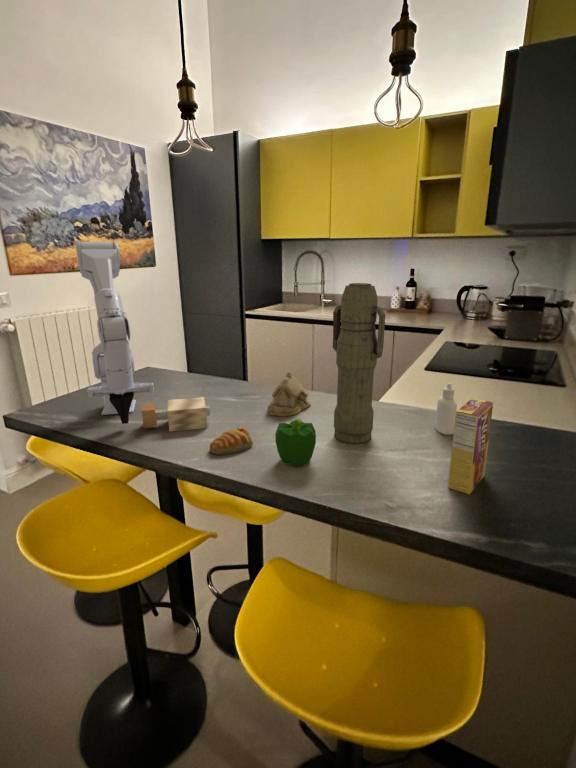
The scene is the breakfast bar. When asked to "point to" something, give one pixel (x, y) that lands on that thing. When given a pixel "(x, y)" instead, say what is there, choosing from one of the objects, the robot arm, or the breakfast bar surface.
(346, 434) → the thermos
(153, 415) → the shaft
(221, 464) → the breakfast bar surface
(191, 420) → the block
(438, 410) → the eye dropper bottle
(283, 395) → the ceramic model
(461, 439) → the candy box
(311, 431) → the bell pepper
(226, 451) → the pastry
